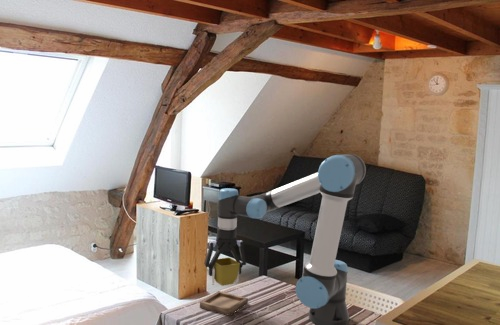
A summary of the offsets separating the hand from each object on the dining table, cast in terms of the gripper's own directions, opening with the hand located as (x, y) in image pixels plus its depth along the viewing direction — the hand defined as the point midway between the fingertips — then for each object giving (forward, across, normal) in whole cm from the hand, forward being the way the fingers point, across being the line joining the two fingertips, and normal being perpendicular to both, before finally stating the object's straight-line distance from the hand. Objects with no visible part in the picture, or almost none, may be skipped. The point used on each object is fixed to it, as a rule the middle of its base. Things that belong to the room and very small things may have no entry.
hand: (224, 282), depth 187 cm
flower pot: (0, 0, 0) cm, 0 cm away
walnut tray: (+9, 0, 0) cm, 9 cm away
